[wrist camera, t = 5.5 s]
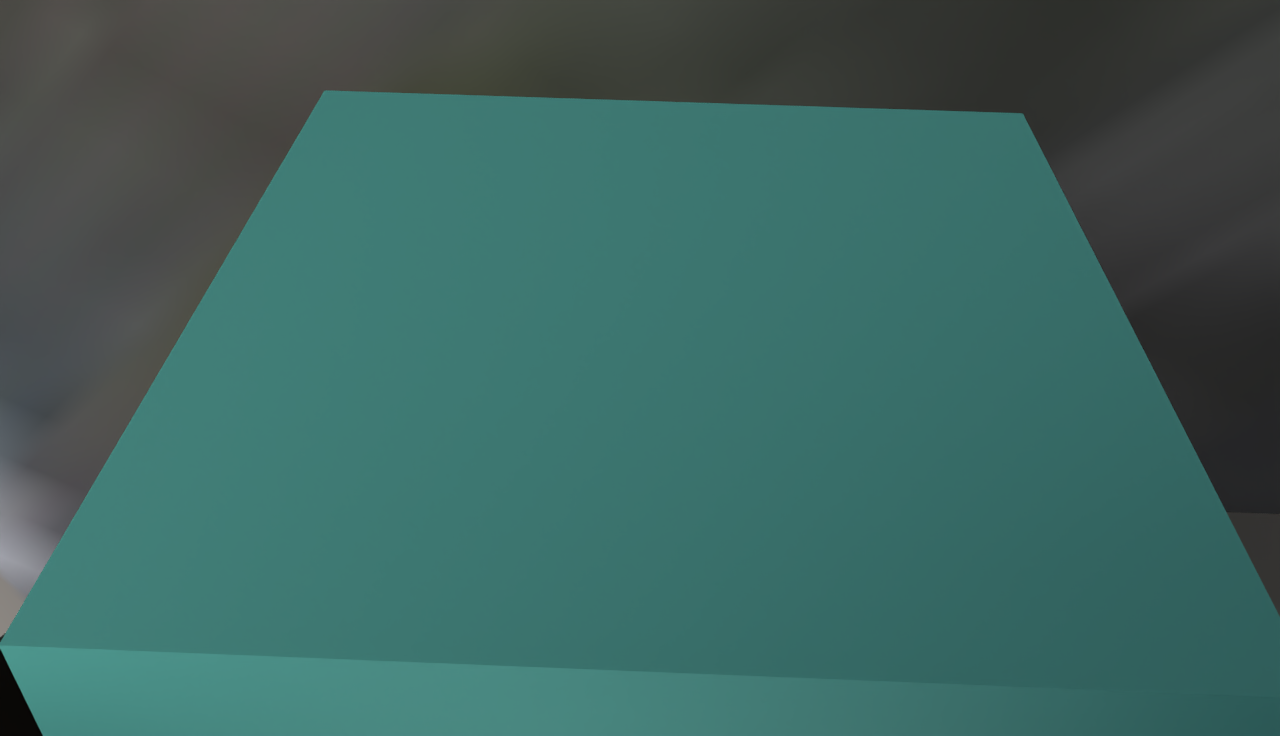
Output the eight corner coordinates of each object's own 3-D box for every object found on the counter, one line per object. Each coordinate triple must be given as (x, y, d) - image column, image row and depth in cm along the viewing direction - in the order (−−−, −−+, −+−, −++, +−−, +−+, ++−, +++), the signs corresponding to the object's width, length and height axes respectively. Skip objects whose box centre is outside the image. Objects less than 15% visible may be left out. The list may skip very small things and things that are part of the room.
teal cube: (1023, 112, 8) (1322, 699, 4) (910, 587, 11) (1027, 1184, 7) (324, 90, 8) (-1, 646, 4) (399, 568, 11) (244, 1147, 8)
